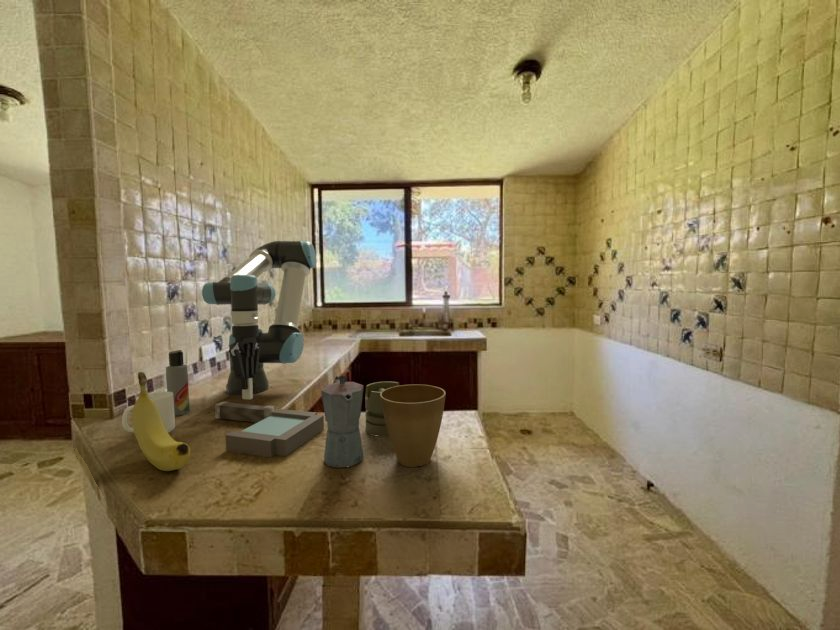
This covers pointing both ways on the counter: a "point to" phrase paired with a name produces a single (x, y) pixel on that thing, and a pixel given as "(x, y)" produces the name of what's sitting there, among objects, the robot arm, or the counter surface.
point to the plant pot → (413, 421)
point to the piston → (376, 408)
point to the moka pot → (342, 422)
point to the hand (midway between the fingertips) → (247, 398)
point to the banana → (156, 434)
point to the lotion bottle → (178, 382)
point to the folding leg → (242, 412)
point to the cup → (164, 406)
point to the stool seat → (276, 433)
